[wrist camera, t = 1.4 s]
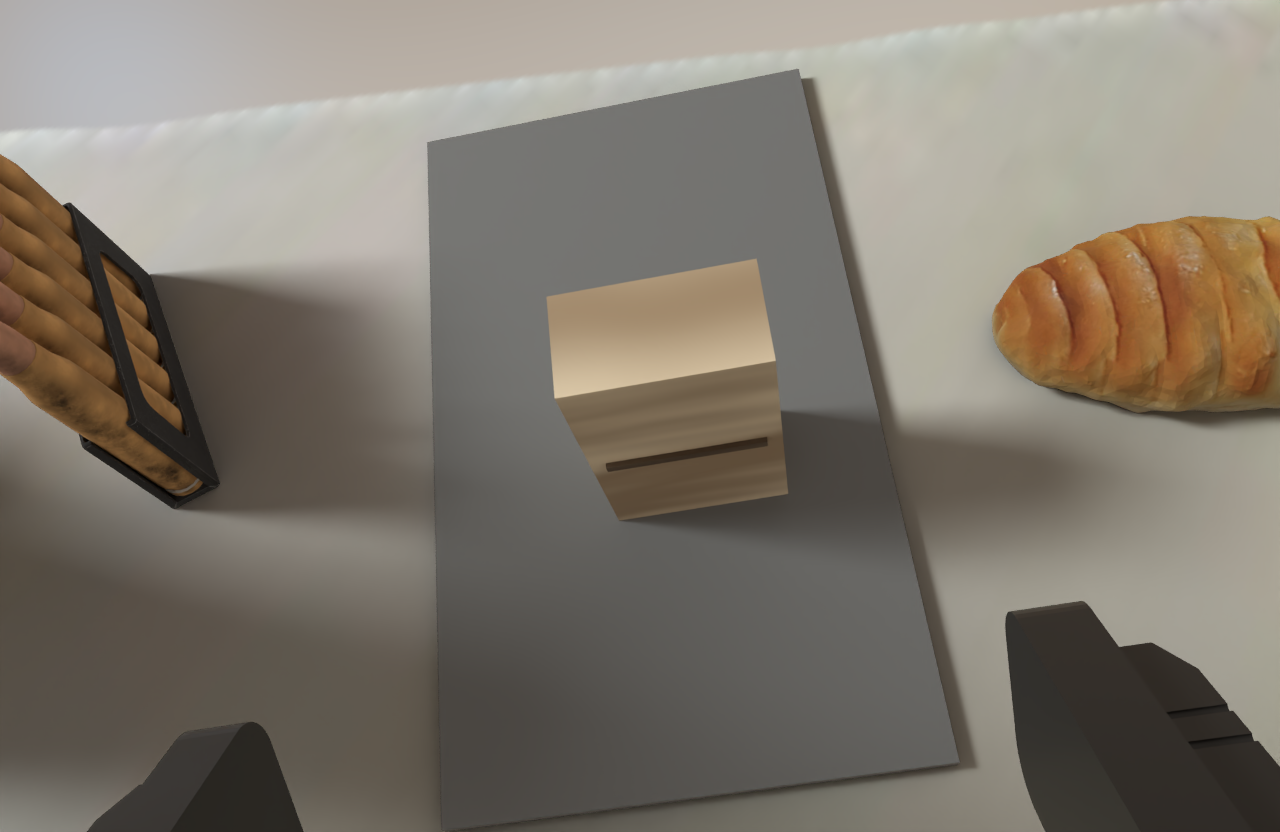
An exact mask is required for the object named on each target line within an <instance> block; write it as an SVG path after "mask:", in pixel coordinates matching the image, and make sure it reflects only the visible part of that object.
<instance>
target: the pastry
mask: <svg viewBox="0 0 1280 832" xmlns="http://www.w3.org/2000/svg"><path fill="white" fill-rule="evenodd" d="M992 331H993V336H994V340H995V342H996V345H997V347H998V348H999V350H1000V351H1001V353H1002V354H1003V355H1004V357H1005V358H1006V359H1007V360H1008V361H1009V363H1010V364H1011V365H1012V366H1013V367H1014V368H1015V369H1016V370H1017V371H1018V372H1019V373H1020V374H1021V375H1023V376H1024V377H1025V378H1027V379H1029V380H1031V381H1033V382H1034V383H1035V384H1037V385H1040V386H1045V387H1050V388H1057V389H1060V390H1063V391H1065V392H1073V393H1078V394H1081V395H1084V396H1087V397H1089V398H1091V399H1095V400H1099V401H1107V402H1111V403H1113V404H1115V405H1117V406H1119V407H1121V408H1124V409H1127V410H1130V411H1133V412H1136V413H1142V412H1147V411H1151V410H1157V411H1176V412H1181V411H1186V410H1199V411H1209V412H1224V411H1231V412H1232V411H1242V410H1257V409H1262V408H1280V220H1278V219H1275V218H1272V217H1270V216H1269V217H1264V218H1261V219H1258V220H1241V219H1231V218H1224V217H1206V216H1202V217H1192V216H1189V217H1184V218H1180V219H1176V220H1172V221H1167V222H1157V223H1153V224H1137V225H1135V226H1133V227H1131V228H1127V229H1124V230H1120V231H1116V232H1108V233H1105V234H1102V235H1101V236H1099V237H1098V238H1096V239H1094V240H1093V241H1087V242H1084V243H1081V244H1077V245H1075V246H1074V247H1073V248H1072V249H1071V250H1070V251H1068V252H1066V253H1064V254H1061V255H1060V256H1056V257H1054V258H1051V259H1047V260H1045V261H1044V262H1042V263H1040V264H1037V265H1034V266H1031V267H1028V268H1026V269H1025V270H1024V271H1022V272H1021V273H1020V274H1019V275H1018V276H1017V277H1016V278H1015V279H1014V280H1013V282H1012V283H1011V285H1010V286H1009V288H1008V289H1007V291H1006V292H1005V293H1004V295H1003V297H1002V299H1001V300H1000V302H999V303H998V304H997V305H996V307H995V310H994V312H993V316H992Z"/></svg>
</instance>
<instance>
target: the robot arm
mask: <svg viewBox="0 0 1280 832" xmlns="http://www.w3.org/2000/svg"><path fill="white" fill-rule="evenodd" d="M1005 627H1006V641H1007V651H1008V661H1009V671H1010V681H1011V691H1012V701H1013V711H1014V721H1015V732H1016V741H1017V748H1018V754H1019V759H1020V763H1021V768H1022V772H1023V776H1024V779H1025V783H1026V786H1027V789H1028V792H1029V795H1030V798H1031V801H1032V803H1033V806H1034V808H1035V810H1036V812H1037V814H1038V817H1039V819H1040V821H1041V823H1042V825H1043V828H1044V830H1045V832H1280V767H1279V765H1278V764H1277V763H1276V762H1275V761H1274V759H1273V758H1272V757H1271V756H1270V755H1269V753H1268V752H1267V751H1266V750H1265V749H1264V747H1263V746H1262V745H1261V744H1260V743H1259V741H1254V740H1253V737H1252V733H1251V732H1250V731H1249V729H1248V728H1247V727H1246V726H1245V725H1244V723H1243V722H1242V721H1241V720H1240V718H1239V717H1238V716H1237V715H1236V714H1235V712H1234V711H1229V709H1228V706H1227V703H1226V702H1225V700H1224V699H1223V698H1222V697H1221V696H1220V694H1219V693H1218V692H1217V691H1216V690H1215V688H1214V687H1213V686H1212V685H1211V684H1210V682H1209V681H1208V680H1207V679H1206V678H1205V676H1204V675H1203V674H1202V673H1201V672H1200V670H1199V669H1198V668H1196V667H1194V666H1192V665H1190V664H1189V663H1187V662H1185V661H1183V660H1182V659H1180V658H1178V657H1176V656H1175V655H1173V654H1171V653H1169V652H1168V651H1166V650H1164V649H1162V648H1160V647H1159V646H1157V645H1155V644H1153V643H1145V644H1138V645H1131V646H1124V647H1118V645H1117V644H1116V642H1115V641H1114V640H1113V638H1112V637H1111V636H1110V634H1109V633H1108V631H1107V630H1106V629H1105V627H1104V626H1103V625H1102V623H1101V622H1100V620H1099V619H1098V618H1097V616H1096V615H1095V614H1094V612H1093V611H1092V609H1091V608H1090V607H1089V606H1088V605H1087V604H1086V603H1085V602H1083V601H1079V602H1072V603H1065V604H1058V605H1051V606H1045V607H1038V608H1031V609H1024V610H1018V611H1011V612H1008V613H1007V616H1006V623H1005ZM87 832H303V829H302V827H301V824H300V821H299V818H298V816H297V813H296V810H295V807H294V804H293V802H292V799H291V796H290V793H289V791H288V788H287V785H286V782H285V780H284V777H283V774H282V771H281V769H280V766H279V763H278V760H277V758H276V755H275V752H274V749H273V747H272V744H271V741H270V739H269V737H268V735H267V733H266V731H265V730H264V729H263V728H262V727H261V726H260V725H259V724H257V723H254V722H248V723H241V724H234V725H227V726H221V727H214V728H207V729H200V730H194V731H188V732H185V733H183V734H182V735H180V736H179V737H178V739H177V740H176V741H175V742H174V743H173V745H172V746H171V747H170V749H169V750H168V751H167V753H166V754H165V755H164V757H163V758H162V759H161V761H160V762H159V763H158V765H157V766H156V767H155V769H154V770H153V771H152V773H151V774H150V775H149V777H148V778H147V779H146V781H145V782H144V783H143V785H139V786H137V787H136V788H135V789H134V790H133V791H131V792H130V793H129V794H128V795H126V796H125V797H124V798H123V799H122V800H120V801H119V802H118V803H117V804H115V805H114V806H113V807H112V808H111V809H109V810H108V811H107V812H106V813H104V814H103V815H102V816H101V817H100V818H98V819H97V820H96V821H95V822H94V823H93V825H92V826H91V827H90V829H89V830H88V831H87Z"/></svg>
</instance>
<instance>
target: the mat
mask: <svg viewBox="0 0 1280 832" xmlns="http://www.w3.org/2000/svg"><path fill="white" fill-rule="evenodd" d="M427 147H428V196H429V244H430V293H431V341H432V390H433V438H434V487H435V535H436V584H437V632H438V680H439V729H440V777H441V826H442V831H455V830H462V829H470V828H478V827H485V826H493V825H501V824H508V823H516V822H523V821H531V820H539V819H546V818H554V817H562V816H569V815H577V814H584V813H592V812H600V811H607V810H615V809H623V808H630V807H638V806H645V805H653V804H661V803H668V802H676V801H683V800H691V799H699V798H706V797H714V796H722V795H729V794H737V793H744V792H752V791H760V790H767V789H775V788H783V787H790V786H798V785H805V784H813V783H821V782H828V781H836V780H843V779H851V778H859V777H866V776H874V775H882V774H889V773H897V772H904V771H912V770H920V769H927V768H935V767H943V766H950V765H958V764H959V762H960V761H959V757H958V753H957V748H956V744H955V740H954V736H953V731H952V727H951V723H950V718H949V714H948V710H947V705H946V701H945V697H944V692H943V688H942V684H941V680H940V675H939V671H938V667H937V662H936V658H935V654H934V649H933V645H932V641H931V637H930V632H929V628H928V624H927V619H926V615H925V611H924V606H923V602H922V598H921V594H920V589H919V585H918V581H917V576H916V572H915V568H914V563H913V559H912V555H911V550H910V546H909V542H908V538H907V533H906V529H905V525H904V520H903V516H902V512H901V507H900V503H899V499H898V495H897V490H896V486H895V482H894V477H893V473H892V469H891V464H890V460H889V456H888V452H887V447H886V443H885V439H884V434H883V430H882V426H881V421H880V417H879V413H878V408H877V404H876V400H875V396H874V391H873V387H872V383H871V378H870V374H869V370H868V365H867V361H866V357H865V353H864V348H863V344H862V340H861V335H860V331H859V327H858V322H857V318H856V314H855V310H854V305H853V301H852V297H851V292H850V288H849V284H848V279H847V275H846V271H845V266H844V262H843V258H842V254H841V249H840V245H839V241H838V236H837V232H836V228H835V223H834V219H833V215H832V211H831V206H830V202H829V198H828V193H827V189H826V185H825V180H824V176H823V172H822V168H821V163H820V159H819V155H818V150H817V146H816V142H815V137H814V133H813V129H812V125H811V120H810V116H809V112H808V107H807V103H806V99H805V94H804V90H803V86H802V81H801V77H800V73H799V69H795V70H790V71H785V72H780V73H775V74H770V75H765V76H760V77H755V78H750V79H745V80H740V81H735V82H729V83H724V84H719V85H714V86H709V87H704V88H699V89H694V90H689V91H684V92H679V93H674V94H669V95H664V96H659V97H654V98H649V99H644V100H639V101H633V102H628V103H623V104H618V105H613V106H608V107H603V108H598V109H593V110H588V111H583V112H578V113H573V114H568V115H563V116H558V117H553V118H548V119H542V120H537V121H532V122H527V123H522V124H517V125H512V126H507V127H502V128H497V129H492V130H487V131H482V132H477V133H472V134H467V135H462V136H457V137H452V138H446V139H441V140H436V141H431V142H427ZM752 259H757V263H758V269H759V274H760V279H761V285H762V290H763V295H764V301H765V306H766V311H767V317H768V322H769V327H770V333H771V338H772V343H773V348H774V354H775V359H776V368H777V379H778V389H779V400H780V411H781V422H782V432H783V443H784V454H785V464H786V475H787V486H788V494H785V495H779V496H772V497H766V498H760V499H753V500H747V501H741V502H734V503H728V504H722V505H715V506H709V507H703V508H696V509H690V510H684V511H678V512H671V513H665V514H659V515H652V516H646V517H640V518H633V519H627V520H621V521H619V520H618V518H617V516H616V514H615V512H614V510H613V508H612V506H611V504H610V503H609V501H608V499H607V497H606V495H605V493H604V491H603V489H602V487H601V486H600V484H599V482H598V480H597V478H596V476H595V474H594V472H593V470H592V468H591V467H590V465H589V463H588V461H587V459H586V457H585V455H584V453H583V451H582V450H581V448H580V446H579V444H578V442H577V440H576V438H575V436H574V434H573V433H572V431H571V429H570V427H569V425H568V423H567V421H566V419H565V417H564V416H563V414H562V412H561V410H560V408H559V406H558V404H557V402H556V400H555V398H554V385H553V372H552V360H551V347H550V334H549V322H548V309H547V297H548V296H553V295H559V294H564V293H570V292H575V291H581V290H586V289H592V288H597V287H603V286H608V285H614V284H619V283H625V282H630V281H636V280H642V279H647V278H653V277H658V276H664V275H669V274H675V273H680V272H686V271H691V270H697V269H702V268H708V267H713V266H719V265H724V264H730V263H735V262H741V261H747V260H752Z"/></svg>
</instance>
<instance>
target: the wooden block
mask: <svg viewBox="0 0 1280 832" xmlns="http://www.w3.org/2000/svg"><path fill="white" fill-rule="evenodd" d="M547 309H548V322H549V334H550V347H551V360H552V372H553V385H554V398H555V400H556V402H557V404H558V406H559V408H560V410H561V412H562V414H563V416H564V417H565V419H566V421H567V423H568V425H569V427H570V429H571V431H572V433H573V434H574V436H575V438H576V440H577V442H578V444H579V446H580V448H581V450H582V451H583V453H584V455H585V457H586V459H587V461H588V463H589V465H590V467H591V468H592V470H593V472H594V474H595V476H596V478H597V480H598V482H599V484H600V486H601V487H602V489H603V491H604V493H605V495H606V497H607V499H608V501H609V503H610V504H611V506H612V508H613V510H614V512H615V514H616V516H617V518H618V520H619V521H621V520H627V519H633V518H640V517H646V516H652V515H659V514H665V513H671V512H678V511H684V510H690V509H696V508H703V507H709V506H715V505H722V504H728V503H734V502H741V501H747V500H753V499H760V498H766V497H772V496H779V495H785V494H788V486H787V475H786V464H785V454H784V443H783V432H782V422H781V411H780V400H779V389H778V379H777V368H776V359H775V354H774V348H773V343H772V338H771V333H770V327H769V322H768V317H767V311H766V306H765V301H764V295H763V290H762V285H761V279H760V274H759V269H758V263H757V259H752V260H747V261H741V262H735V263H730V264H724V265H719V266H713V267H708V268H702V269H697V270H691V271H686V272H680V273H675V274H669V275H664V276H658V277H653V278H647V279H642V280H636V281H630V282H625V283H619V284H614V285H608V286H603V287H597V288H592V289H586V290H581V291H575V292H570V293H564V294H559V295H553V296H548V297H547Z"/></svg>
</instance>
